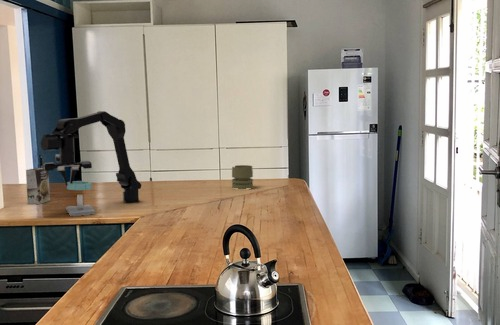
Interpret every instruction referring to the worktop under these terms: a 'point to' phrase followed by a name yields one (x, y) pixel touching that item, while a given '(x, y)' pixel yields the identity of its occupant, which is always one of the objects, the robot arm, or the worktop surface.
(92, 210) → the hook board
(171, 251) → the worktop surface
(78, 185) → the teal ring
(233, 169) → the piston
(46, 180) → the coffee box
